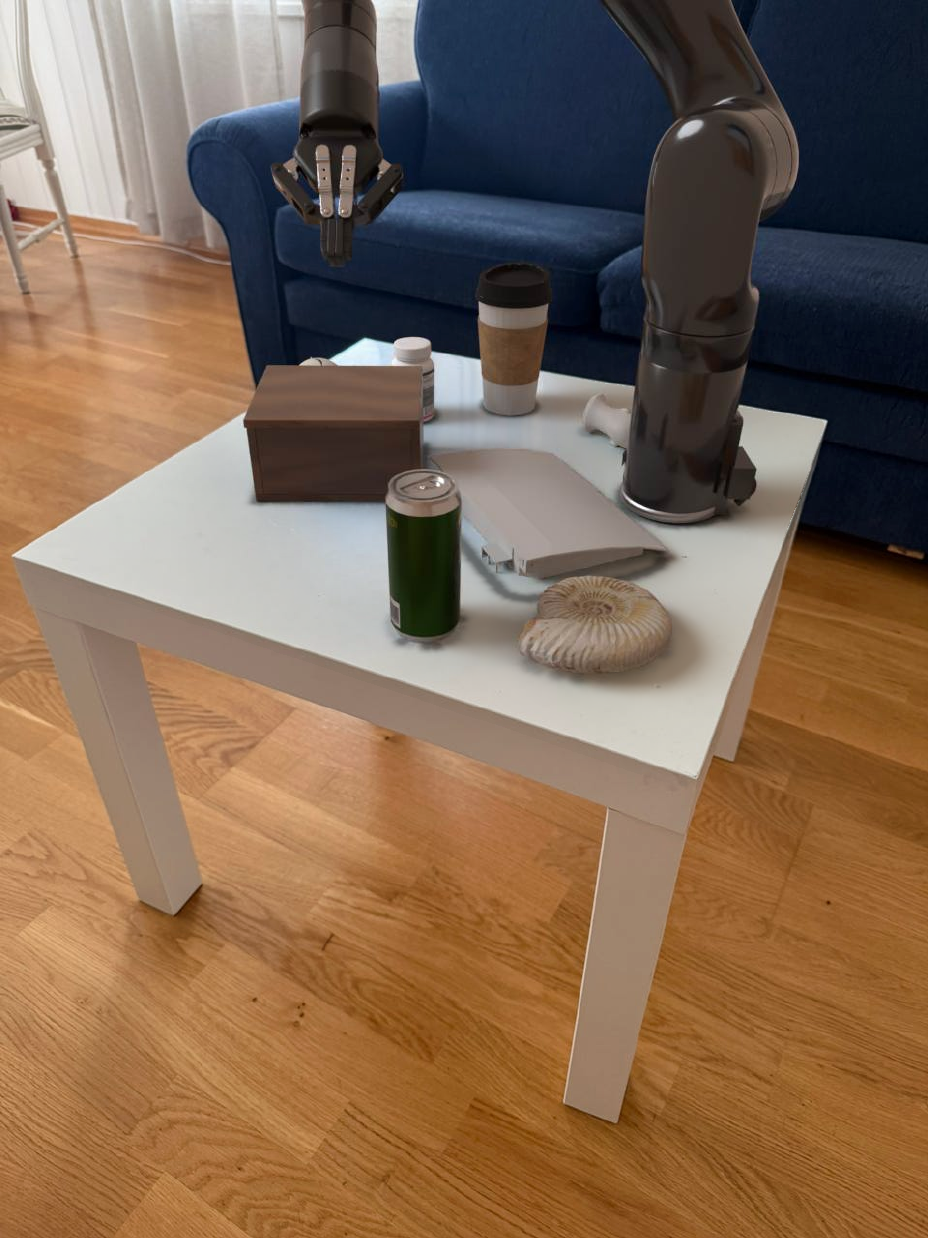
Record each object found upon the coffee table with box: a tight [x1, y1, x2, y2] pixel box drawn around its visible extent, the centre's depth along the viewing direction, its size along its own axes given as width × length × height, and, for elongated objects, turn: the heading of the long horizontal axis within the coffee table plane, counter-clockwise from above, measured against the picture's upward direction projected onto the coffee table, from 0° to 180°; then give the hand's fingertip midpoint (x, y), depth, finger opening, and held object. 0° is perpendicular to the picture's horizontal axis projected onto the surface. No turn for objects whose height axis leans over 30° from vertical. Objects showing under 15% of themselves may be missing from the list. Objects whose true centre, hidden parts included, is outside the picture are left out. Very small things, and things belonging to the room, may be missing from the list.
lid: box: [242, 364, 423, 429], centre depth 86 cm, size 13×16×1 cm
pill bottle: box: [390, 336, 435, 423], centre depth 100 cm, size 5×5×8 cm
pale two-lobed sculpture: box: [582, 393, 632, 449], centre depth 97 cm, size 4×8×5 cm
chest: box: [245, 376, 425, 503], centre depth 89 cm, size 13×16×8 cm
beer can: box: [384, 468, 463, 644], centre depth 66 cm, size 5×5×12 cm
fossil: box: [518, 575, 673, 674], centre depth 68 cm, size 12×5×10 cm
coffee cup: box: [474, 262, 554, 417], centre depth 101 cm, size 8×8×15 cm
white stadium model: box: [428, 447, 668, 580], centre depth 83 cm, size 15×23×4 cm, turn 24°
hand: (336, 261), depth 85 cm, fingers closed
